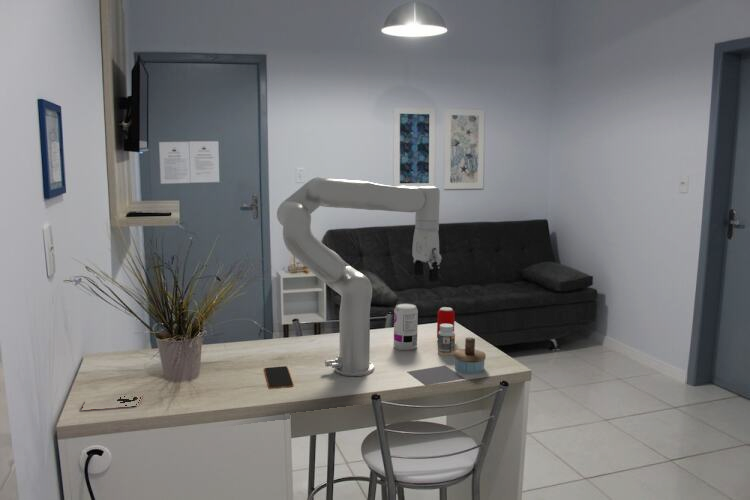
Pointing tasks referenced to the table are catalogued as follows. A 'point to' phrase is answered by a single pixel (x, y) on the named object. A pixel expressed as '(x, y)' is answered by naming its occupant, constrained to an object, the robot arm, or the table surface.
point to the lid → (469, 352)
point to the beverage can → (445, 317)
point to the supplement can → (405, 326)
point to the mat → (435, 375)
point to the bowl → (469, 366)
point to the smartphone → (278, 377)
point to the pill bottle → (446, 339)
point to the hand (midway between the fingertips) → (425, 277)
